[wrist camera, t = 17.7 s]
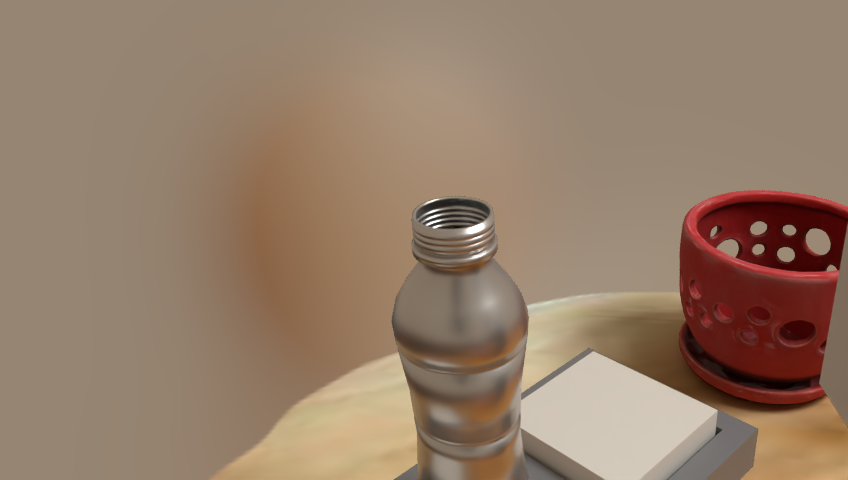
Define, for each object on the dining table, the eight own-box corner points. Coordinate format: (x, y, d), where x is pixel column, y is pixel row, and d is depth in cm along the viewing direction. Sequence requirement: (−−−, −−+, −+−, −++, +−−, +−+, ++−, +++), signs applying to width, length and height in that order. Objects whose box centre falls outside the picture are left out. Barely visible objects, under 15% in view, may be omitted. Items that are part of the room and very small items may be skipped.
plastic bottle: (452, 616, 38) (416, 262, 29) (399, 524, 43) (356, 204, 35) (561, 565, 40) (559, 221, 31) (497, 483, 46) (480, 173, 37)
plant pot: (652, 396, 55) (661, 250, 50) (693, 308, 65) (704, 178, 60) (856, 448, 49) (891, 286, 44) (867, 342, 59) (896, 200, 54)
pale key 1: (715, 435, 47) (717, 410, 46) (623, 518, 42) (625, 492, 41) (593, 374, 54) (593, 351, 53) (501, 439, 49) (499, 414, 48)
